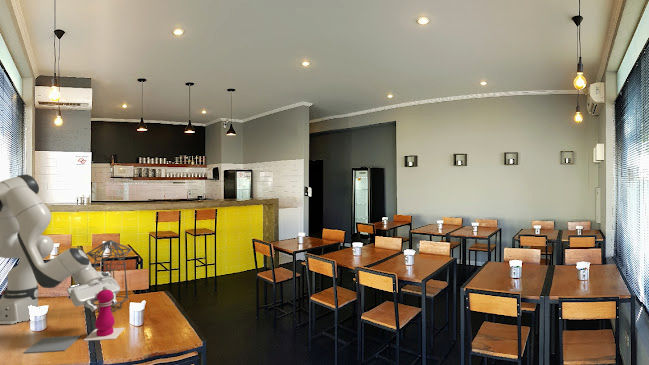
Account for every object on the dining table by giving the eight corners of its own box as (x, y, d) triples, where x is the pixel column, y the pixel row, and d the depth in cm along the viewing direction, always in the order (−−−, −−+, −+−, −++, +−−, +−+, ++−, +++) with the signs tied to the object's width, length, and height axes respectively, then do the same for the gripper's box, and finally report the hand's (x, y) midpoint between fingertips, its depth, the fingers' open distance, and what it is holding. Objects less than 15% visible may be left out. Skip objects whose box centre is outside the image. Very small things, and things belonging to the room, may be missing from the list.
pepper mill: (106, 337, 162) (106, 289, 161) (90, 336, 163) (91, 287, 163) (118, 331, 169) (118, 284, 169) (103, 329, 170) (104, 283, 170)
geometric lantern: (133, 305, 203) (134, 238, 202) (113, 317, 188) (113, 244, 186) (106, 303, 206) (106, 237, 204) (83, 314, 190) (83, 242, 189)
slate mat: (23, 353, 147) (23, 352, 147) (43, 338, 161) (43, 337, 161) (64, 350, 150) (64, 349, 150) (80, 336, 163) (80, 335, 163)
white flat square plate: (83, 340, 159) (83, 340, 159) (95, 329, 171) (95, 329, 171) (115, 338, 161) (115, 338, 161) (124, 328, 173) (124, 327, 173)
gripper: (68, 282, 158) (86, 309, 155) (112, 271, 177) (129, 295, 174) (61, 292, 160) (78, 319, 157) (105, 280, 179) (121, 304, 176)
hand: (105, 306), depth 165 cm, fingers open, 8 cm apart
